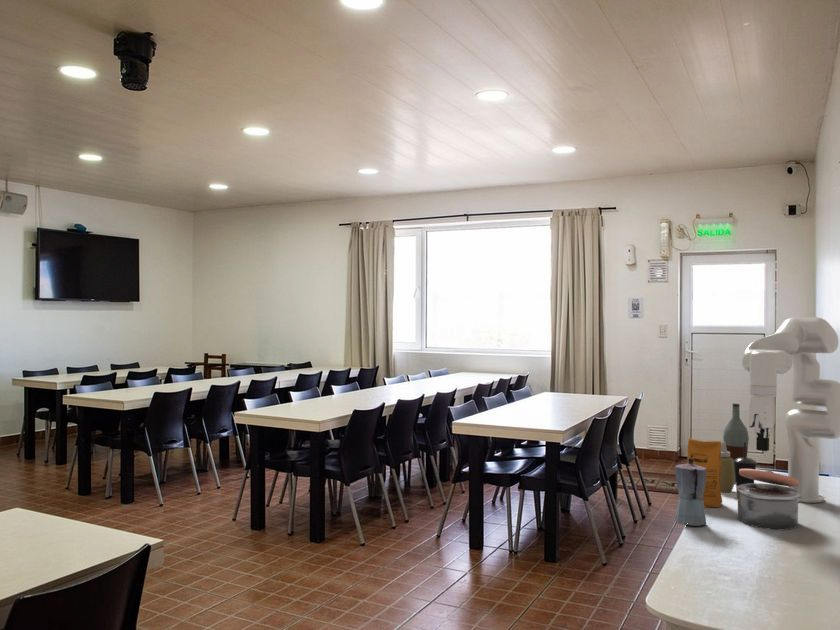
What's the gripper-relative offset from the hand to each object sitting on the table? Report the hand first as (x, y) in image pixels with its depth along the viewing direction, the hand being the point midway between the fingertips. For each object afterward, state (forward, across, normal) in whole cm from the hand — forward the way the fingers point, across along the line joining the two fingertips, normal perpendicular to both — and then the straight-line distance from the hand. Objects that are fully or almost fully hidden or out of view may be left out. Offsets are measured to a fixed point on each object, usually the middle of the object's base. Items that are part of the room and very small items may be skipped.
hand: (762, 450), depth 221 cm
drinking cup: (+23, -27, -16) cm, 38 cm away
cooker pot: (+23, -4, 0) cm, 23 cm away
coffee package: (+23, -11, -24) cm, 35 cm away
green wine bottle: (+23, -54, -30) cm, 66 cm away
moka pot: (+23, +15, -16) cm, 32 cm away
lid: (+10, -5, 0) cm, 11 cm away
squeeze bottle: (+23, -34, -26) cm, 48 cm away
